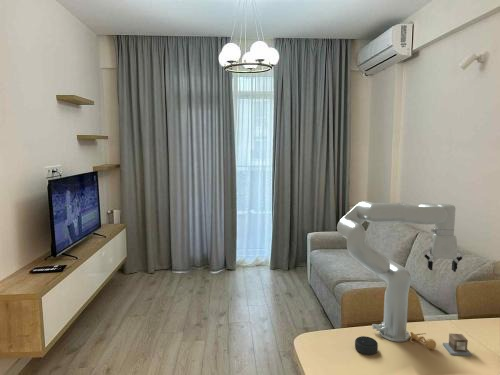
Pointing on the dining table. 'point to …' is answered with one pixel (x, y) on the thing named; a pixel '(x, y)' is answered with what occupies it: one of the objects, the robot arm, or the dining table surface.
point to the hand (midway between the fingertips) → (441, 270)
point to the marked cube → (458, 342)
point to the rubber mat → (456, 351)
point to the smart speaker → (366, 345)
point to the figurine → (429, 343)
